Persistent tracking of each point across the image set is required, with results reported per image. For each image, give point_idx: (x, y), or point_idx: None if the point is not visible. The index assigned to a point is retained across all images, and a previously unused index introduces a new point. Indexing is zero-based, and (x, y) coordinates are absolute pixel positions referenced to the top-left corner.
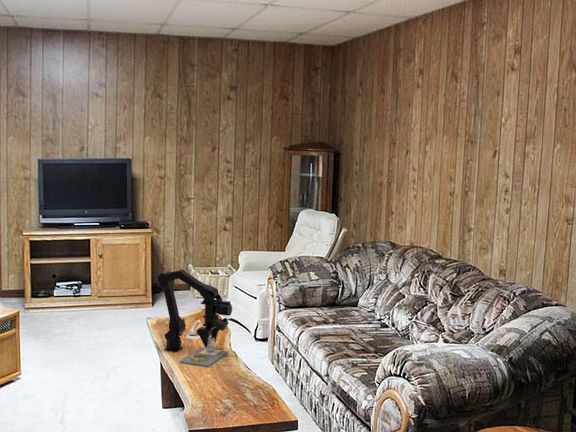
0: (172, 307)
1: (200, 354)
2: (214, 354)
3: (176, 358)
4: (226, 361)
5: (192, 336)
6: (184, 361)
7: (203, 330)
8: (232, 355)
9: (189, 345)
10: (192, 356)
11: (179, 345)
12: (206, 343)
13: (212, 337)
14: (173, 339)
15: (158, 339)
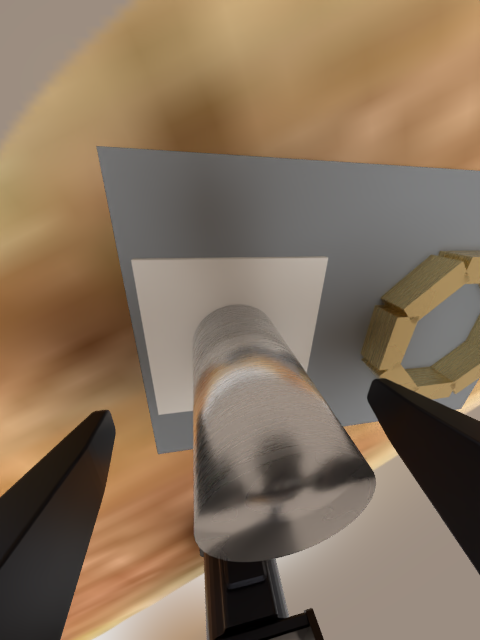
0: None
1: (399, 359)
2: (306, 263)
3: (372, 446)
4: (414, 28)
5: None
6: (472, 384)
7: None
8: (144, 25)
9: (120, 518)
10: (460, 380)
11: None
12: (453, 418)
13: (246, 506)
14: (313, 614)
15: (131, 615)
